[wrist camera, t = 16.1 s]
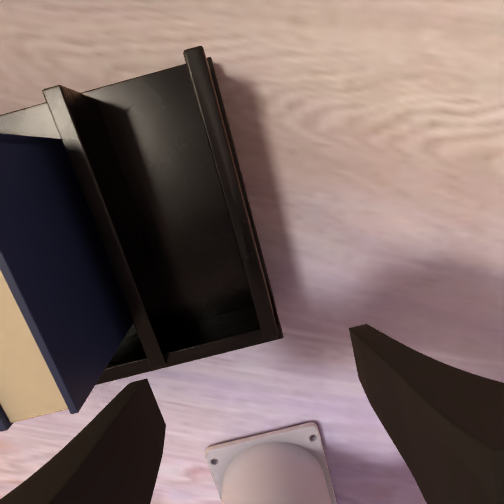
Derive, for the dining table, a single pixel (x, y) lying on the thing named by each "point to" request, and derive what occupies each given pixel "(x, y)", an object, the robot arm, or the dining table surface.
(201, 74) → the rack
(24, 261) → the book
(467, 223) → the dining table surface
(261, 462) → the robot arm
